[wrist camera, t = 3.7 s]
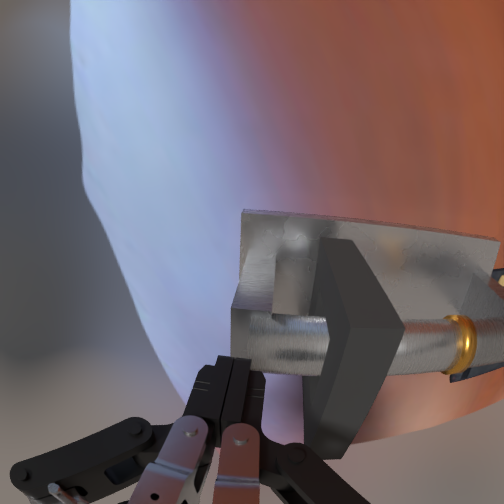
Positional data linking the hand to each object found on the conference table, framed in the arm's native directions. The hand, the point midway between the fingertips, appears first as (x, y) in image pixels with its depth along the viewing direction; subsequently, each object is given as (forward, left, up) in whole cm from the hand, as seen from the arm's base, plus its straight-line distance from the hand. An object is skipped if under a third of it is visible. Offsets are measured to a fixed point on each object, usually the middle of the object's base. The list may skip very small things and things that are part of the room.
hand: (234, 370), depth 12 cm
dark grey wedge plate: (-5, 0, -7) cm, 8 cm away
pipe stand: (-10, 0, -10) cm, 14 cm away
